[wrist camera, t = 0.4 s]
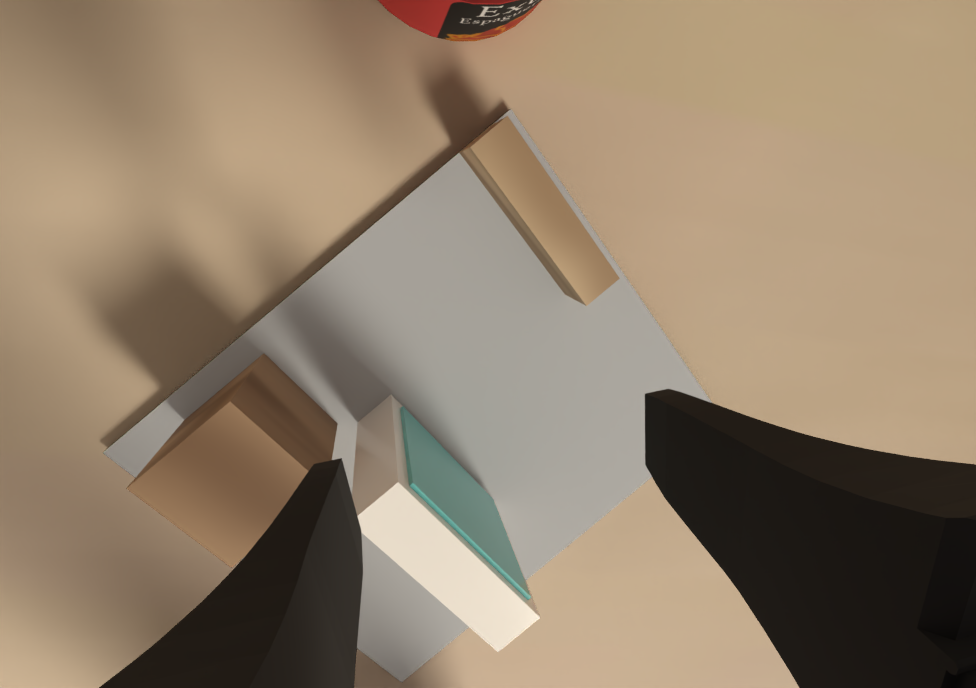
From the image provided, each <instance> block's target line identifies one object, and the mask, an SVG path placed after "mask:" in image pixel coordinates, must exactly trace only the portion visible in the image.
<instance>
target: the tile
mask: <svg viewBox="0 0 976 688" xmlns="http://www.w3.org/2000/svg"><path fill="white" fill-rule="evenodd" d="M352 498H353V502H354V505H355V509H356V513H357V516H358V520H359V524H360V528H361V533H363V534H364V535H365V536H366V537H367V538H368V539H369V540H371V541H372V542H373V543H374V544H375V545H376V546H377V547H379V548H380V549H381V550H382V551H383V552H384V553H385V554H387V555H388V556H389V557H390V558H391V559H392V560H393V561H395V562H396V563H397V564H398V565H399V566H400V567H401V568H403V569H404V570H405V571H406V572H407V573H408V574H409V575H410V576H412V577H413V578H414V579H415V580H416V581H417V582H418V583H420V584H421V585H422V586H423V587H424V588H425V589H426V590H428V591H429V592H430V593H431V594H432V595H433V596H434V597H436V598H437V599H438V600H439V601H440V602H441V603H442V604H444V605H445V606H446V607H447V608H448V609H449V610H450V611H452V612H453V613H454V614H455V615H456V616H457V617H458V618H460V619H461V620H462V621H463V622H464V623H465V624H466V625H468V626H469V627H470V628H471V629H472V630H473V631H474V632H475V633H477V634H478V635H479V636H480V637H481V638H482V639H483V640H485V641H486V642H487V643H488V644H489V645H490V646H491V647H493V648H494V649H495V650H496V651H497V652H499V651H500V650H501V649H503V648H504V647H505V646H506V645H507V644H509V643H510V642H511V641H512V640H514V639H515V638H516V637H517V636H518V635H520V634H521V633H522V632H523V631H525V630H526V629H527V628H528V627H529V626H531V625H532V624H533V623H534V622H535V621H537V620H538V619H539V618H540V616H539V613H538V611H537V608H536V605H535V603H534V600H533V598H532V595H531V593H530V590H529V588H528V585H527V582H526V580H525V577H524V575H523V572H522V570H521V567H520V564H519V562H518V559H517V557H516V554H515V552H514V549H513V546H512V544H511V541H510V539H509V536H508V534H507V531H506V528H505V526H504V523H503V521H502V518H501V516H500V513H499V510H498V508H497V505H496V503H495V501H494V499H493V498H492V497H491V496H490V495H489V494H488V493H487V492H486V491H485V490H484V489H483V488H482V487H481V486H480V485H479V484H478V483H477V482H476V481H475V480H474V479H473V478H472V477H471V476H470V475H469V473H468V472H467V471H466V470H465V469H464V468H463V467H462V466H461V465H460V464H459V463H458V462H457V461H456V460H455V459H454V458H453V457H452V456H451V455H450V454H449V453H448V452H447V451H446V450H445V449H444V448H443V447H442V446H441V445H440V444H439V443H438V442H437V440H436V439H435V438H434V437H433V436H432V435H431V434H430V433H429V432H428V431H427V430H426V429H425V428H424V427H423V426H422V425H421V424H420V423H419V422H418V421H417V420H416V419H415V418H414V417H413V416H412V415H411V414H410V413H409V412H408V411H407V410H406V409H405V408H404V406H402V405H401V404H400V403H399V402H398V401H397V400H396V399H395V398H394V397H393V396H392V395H390V396H389V397H387V398H386V399H385V400H384V401H383V402H381V403H380V404H379V405H378V406H377V407H375V408H374V409H373V410H372V411H371V412H369V413H368V414H367V415H366V416H365V417H363V418H362V419H361V420H360V421H359V422H358V423H357V436H356V449H355V462H354V475H353V488H352Z"/></svg>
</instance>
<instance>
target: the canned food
mask: <svg viewBox="0 0 976 688" xmlns="http://www.w3.org/2000/svg"><path fill="white" fill-rule="evenodd" d="M378 1H379V2H380V3H381V4H382V5H383V6H384V7H385V8H386V9H387V10H388V11H389V12H390V13H392V14H393V15H394V16H396V17H397V18H399V19H400V20H402V21H403V22H404V23H406V24H407V25H409V26H410V27H412V28H415V29H417V30H419V31H421V32H423V33H426V34H428V35H430V36H433V37H437V38H442V39H446V40H451V41H477V40H482V39H486V38H490V37H494V36H497V35H499V34H501V33H503V32H505V31H507V30H509V29H511V28H513V27H514V26H516V25H517V24H518V23H519V22H520V21H522V20H523V19H524V18H525V17H526V16H528V15H529V14H530V13H531V12H532V11H533V10H534V9H535V7H536V6H537V5H538V4H539V3H540V2H541V1H542V0H378Z"/></svg>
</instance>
